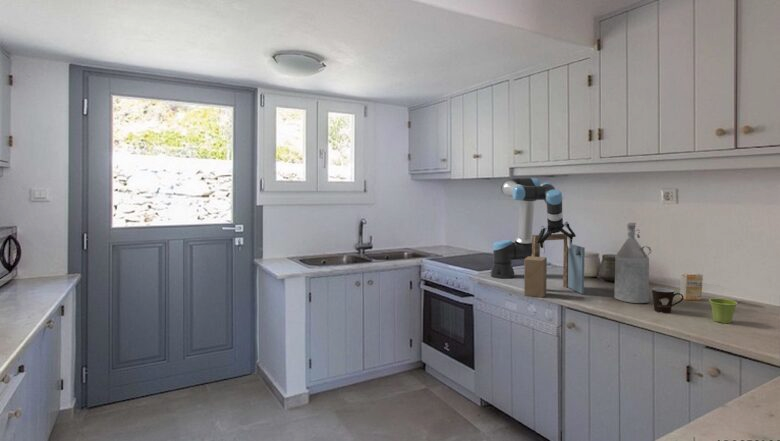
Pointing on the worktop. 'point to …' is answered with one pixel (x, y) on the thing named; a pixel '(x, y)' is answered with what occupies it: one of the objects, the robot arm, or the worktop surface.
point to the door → (576, 268)
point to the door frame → (565, 263)
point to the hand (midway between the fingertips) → (556, 249)
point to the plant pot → (722, 310)
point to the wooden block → (535, 276)
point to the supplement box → (691, 286)
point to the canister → (632, 270)
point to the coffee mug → (664, 299)
